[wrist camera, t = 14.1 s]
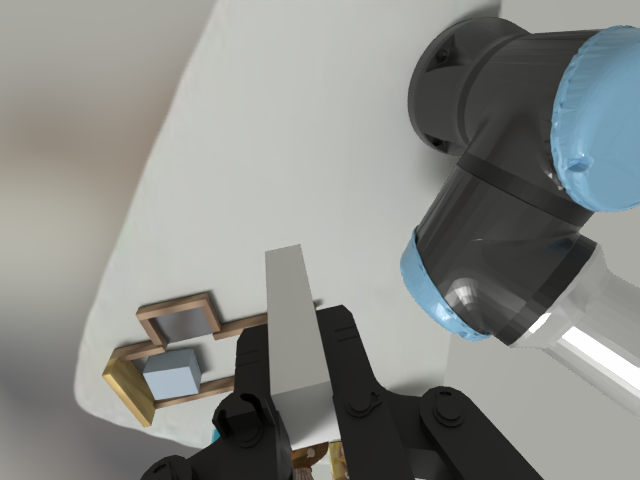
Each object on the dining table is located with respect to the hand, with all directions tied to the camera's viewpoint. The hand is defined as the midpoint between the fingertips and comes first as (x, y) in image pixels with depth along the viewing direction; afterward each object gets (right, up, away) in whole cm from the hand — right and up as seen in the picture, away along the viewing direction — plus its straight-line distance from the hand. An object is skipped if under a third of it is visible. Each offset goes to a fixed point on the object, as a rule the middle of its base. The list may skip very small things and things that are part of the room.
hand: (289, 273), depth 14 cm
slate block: (-24, -20, +42) cm, 53 cm away
